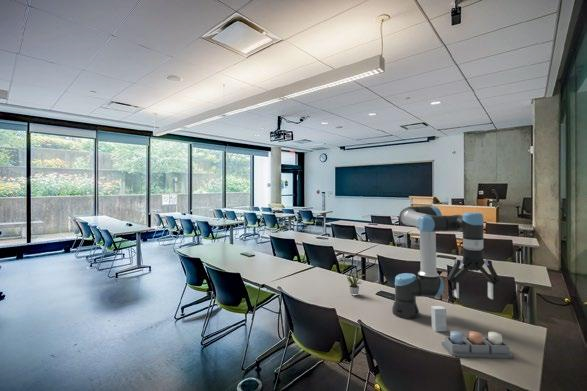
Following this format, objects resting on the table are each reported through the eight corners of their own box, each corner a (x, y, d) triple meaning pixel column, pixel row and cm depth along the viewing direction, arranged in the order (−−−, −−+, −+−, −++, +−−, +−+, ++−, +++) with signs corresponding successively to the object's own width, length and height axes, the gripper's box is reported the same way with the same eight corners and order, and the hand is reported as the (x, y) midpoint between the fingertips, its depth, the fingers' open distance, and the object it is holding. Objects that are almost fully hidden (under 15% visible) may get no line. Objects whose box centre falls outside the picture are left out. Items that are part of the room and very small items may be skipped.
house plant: (364, 291, 211) (364, 269, 211) (367, 298, 197) (367, 274, 197) (345, 291, 212) (344, 269, 212) (346, 297, 199) (346, 274, 198)
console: (441, 344, 137) (441, 335, 137) (498, 345, 135) (498, 336, 135) (451, 356, 127) (451, 346, 127) (513, 357, 125) (513, 347, 125)
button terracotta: (466, 338, 134) (466, 331, 134) (478, 338, 133) (478, 331, 133) (473, 344, 129) (473, 336, 128) (485, 344, 128) (485, 337, 128)
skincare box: (442, 327, 154) (441, 305, 154) (446, 331, 149) (446, 308, 149) (431, 328, 154) (430, 305, 153) (435, 331, 149) (435, 309, 149)
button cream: (485, 339, 133) (485, 331, 133) (497, 339, 133) (497, 331, 133) (492, 344, 128) (492, 337, 128) (504, 345, 128) (504, 337, 128)
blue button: (448, 338, 134) (448, 330, 134) (459, 338, 134) (459, 331, 134) (453, 344, 129) (453, 336, 129) (465, 344, 129) (465, 336, 129)
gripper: (445, 250, 120) (446, 299, 121) (510, 250, 117) (510, 302, 117) (439, 246, 128) (439, 293, 128) (499, 247, 124) (499, 295, 125)
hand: (473, 297), depth 123 cm, fingers open, 13 cm apart
